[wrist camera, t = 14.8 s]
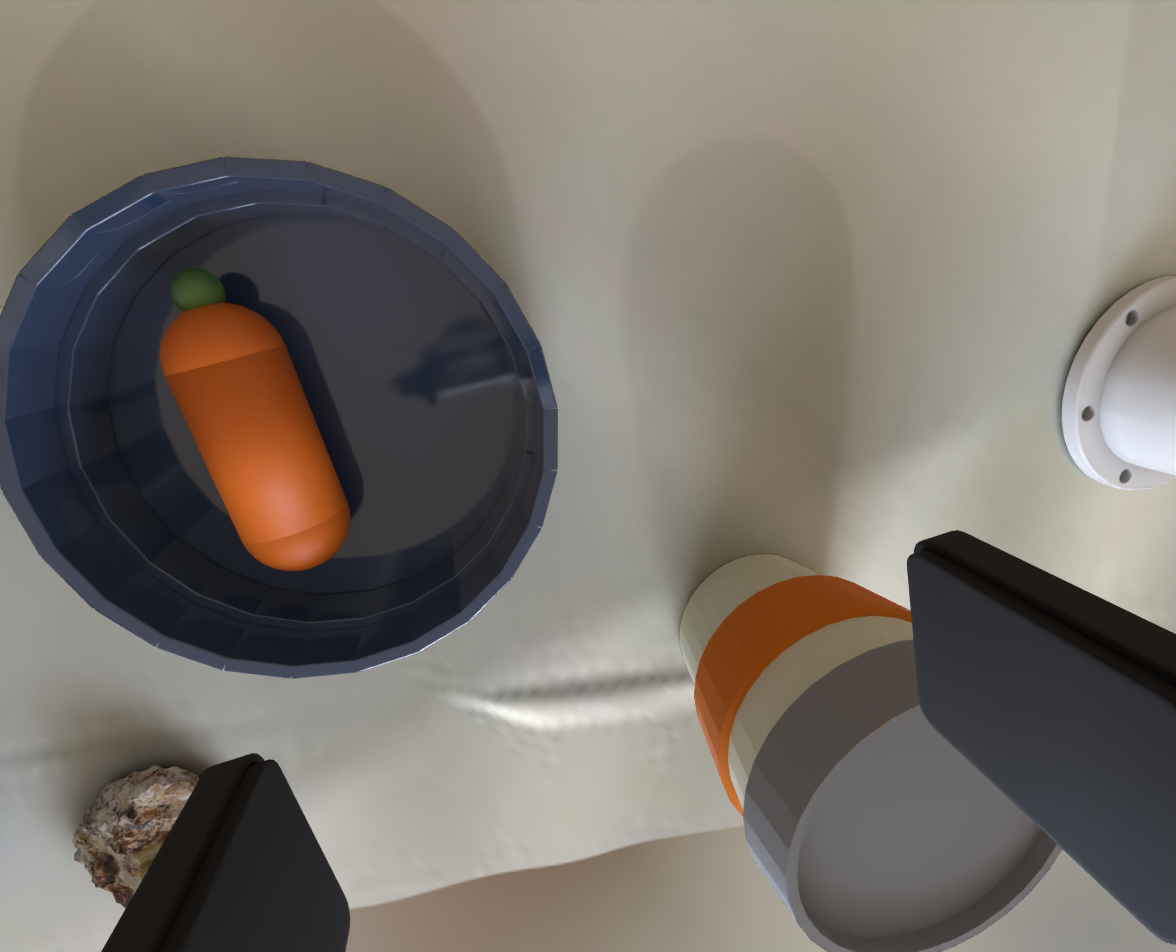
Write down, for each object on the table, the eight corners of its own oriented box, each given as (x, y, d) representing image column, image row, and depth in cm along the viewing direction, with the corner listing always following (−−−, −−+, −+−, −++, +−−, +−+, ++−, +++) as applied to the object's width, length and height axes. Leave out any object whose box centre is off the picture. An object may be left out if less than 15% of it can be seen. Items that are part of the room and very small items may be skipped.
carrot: (382, 548, 27) (283, 600, 24) (340, 534, 30) (248, 579, 27) (266, 248, 23) (131, 269, 20) (231, 268, 26) (111, 289, 23)
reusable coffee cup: (636, 721, 36) (749, 991, 22) (664, 520, 33) (817, 686, 19) (826, 712, 39) (1034, 947, 25) (869, 526, 36) (1136, 675, 22)
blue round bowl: (389, 100, 25) (370, 43, 20) (607, 479, 32) (639, 518, 26) (-28, 337, 25) (-169, 349, 19) (281, 675, 31) (243, 759, 26)
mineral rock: (11, 817, 28) (175, 812, 27) (90, 744, 32) (235, 738, 31) (99, 975, 32) (246, 975, 31) (160, 892, 36) (292, 890, 35)
